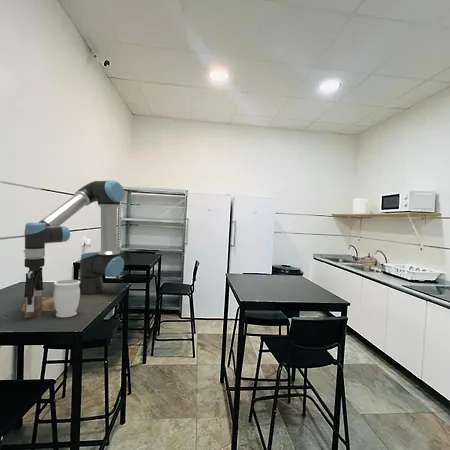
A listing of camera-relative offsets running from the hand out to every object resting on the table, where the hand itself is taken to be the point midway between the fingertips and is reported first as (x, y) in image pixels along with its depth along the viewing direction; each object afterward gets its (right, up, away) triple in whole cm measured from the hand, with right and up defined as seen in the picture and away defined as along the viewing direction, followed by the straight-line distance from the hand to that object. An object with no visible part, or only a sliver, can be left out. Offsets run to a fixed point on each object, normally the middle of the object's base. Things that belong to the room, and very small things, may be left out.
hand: (33, 308), depth 135 cm
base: (-3, -3, +12) cm, 13 cm away
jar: (+13, -4, +2) cm, 14 cm away
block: (0, -3, -1) cm, 3 cm away
